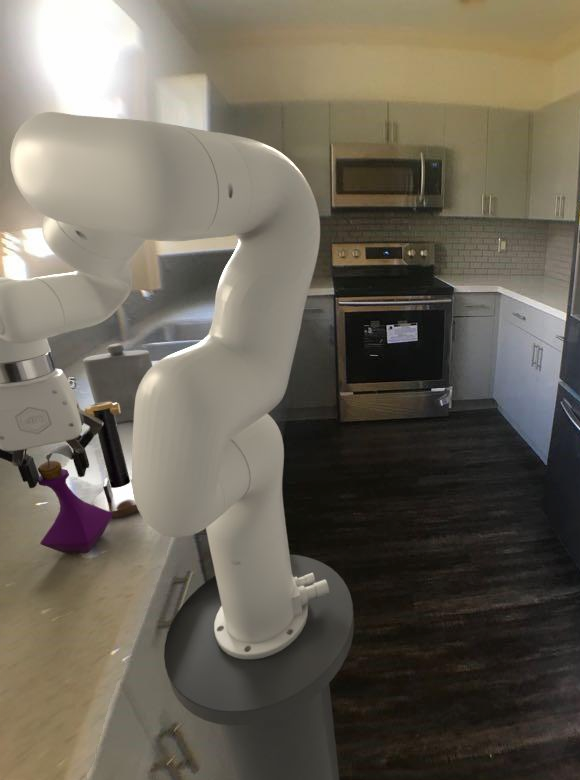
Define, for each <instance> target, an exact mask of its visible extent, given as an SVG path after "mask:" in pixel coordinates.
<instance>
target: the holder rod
mask: <svg viewBox="0 0 580 780" xmlns="http://www.w3.org/2000/svg"><path fill="white" fill-rule="evenodd" d="M84 411H85V412H87V413H89V414H90V415H92V416H94V417H96V418H98V419H100V420H101V421H103V427H102V428H101V430H100V431H99V432H98V433H97V436H98V441H99V445H100V447H101V448H100V449H101V453H102V456H103V461H104V464H105V469H106V473H107V478H108V480H109V483H110V486H111V488H118V487H122V486H125V485H127V484H129V483H130V479H131V477H130V474H129V469H128V466H127V461H126V459H125V457H126V456H125V454H124V453H125V452H124V449H123V445H122V441H121V436H120V432H119V428H118V423H116V419H115V414H120V406H119V403H113V404H112V402H102V403H97V404H95V403H94V404H91V405H90V406H89V407H86V408H84Z"/></svg>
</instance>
